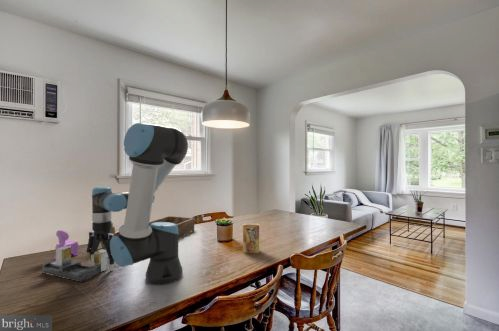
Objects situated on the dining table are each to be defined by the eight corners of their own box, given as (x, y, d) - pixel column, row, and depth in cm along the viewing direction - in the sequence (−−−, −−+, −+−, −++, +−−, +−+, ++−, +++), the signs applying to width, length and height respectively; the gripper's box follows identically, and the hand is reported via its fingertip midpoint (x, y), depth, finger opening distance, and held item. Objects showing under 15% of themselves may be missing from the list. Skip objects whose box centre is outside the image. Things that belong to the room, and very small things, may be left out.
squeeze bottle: (114, 244, 145) (114, 214, 145) (118, 247, 139) (118, 216, 139) (98, 247, 139) (98, 216, 139) (102, 251, 133) (102, 219, 133)
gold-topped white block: (109, 264, 116) (109, 246, 116) (115, 266, 114) (115, 247, 114) (93, 272, 108) (93, 252, 108) (99, 273, 107) (99, 253, 107)
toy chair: (80, 255, 128) (80, 227, 127) (63, 261, 119) (63, 231, 119) (69, 253, 130) (68, 226, 130) (51, 259, 122) (51, 230, 122)
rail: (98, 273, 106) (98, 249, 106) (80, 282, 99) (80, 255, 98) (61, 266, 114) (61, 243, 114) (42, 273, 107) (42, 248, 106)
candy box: (258, 250, 135) (258, 223, 135) (259, 253, 131) (259, 225, 131) (243, 250, 135) (243, 223, 135) (243, 253, 131) (243, 225, 131)
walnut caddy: (194, 230, 175) (194, 218, 175) (165, 244, 145) (165, 229, 145) (168, 227, 182) (168, 215, 182) (136, 240, 153) (136, 226, 153)
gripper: (127, 221, 110) (127, 269, 110) (92, 217, 117) (92, 262, 117) (113, 225, 103) (113, 277, 103) (76, 220, 110) (77, 269, 110)
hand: (102, 269), depth 110 cm, fingers open, 9 cm apart
